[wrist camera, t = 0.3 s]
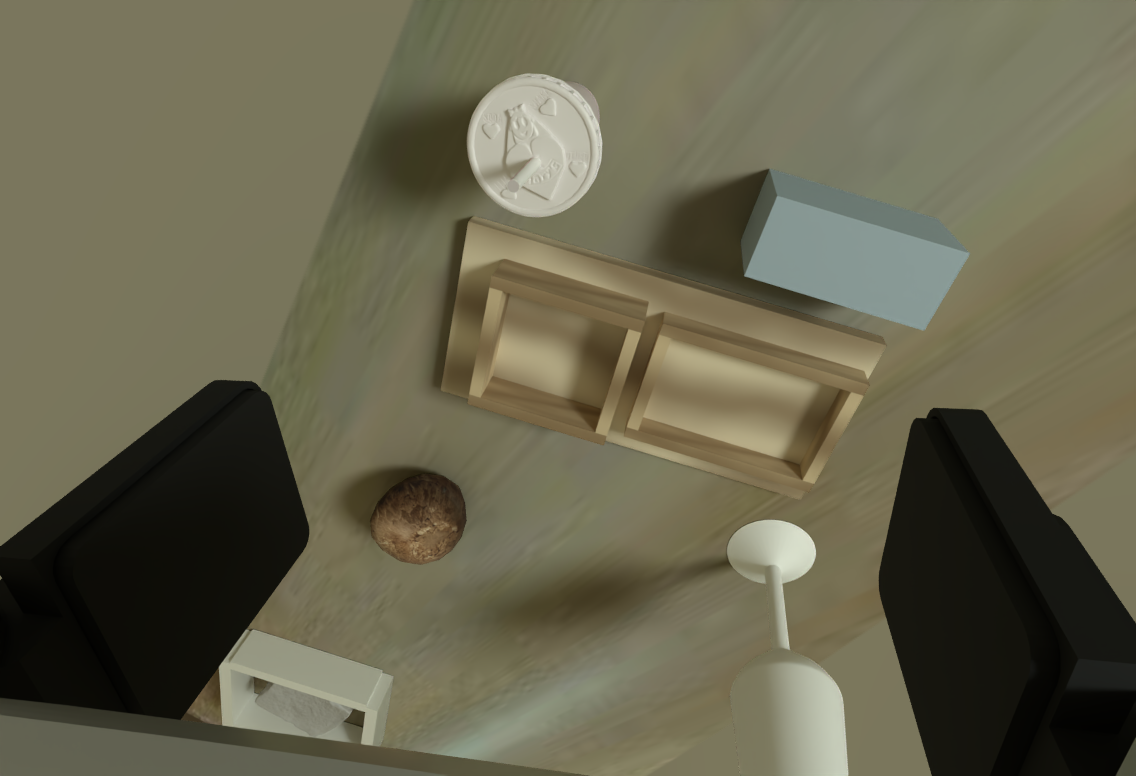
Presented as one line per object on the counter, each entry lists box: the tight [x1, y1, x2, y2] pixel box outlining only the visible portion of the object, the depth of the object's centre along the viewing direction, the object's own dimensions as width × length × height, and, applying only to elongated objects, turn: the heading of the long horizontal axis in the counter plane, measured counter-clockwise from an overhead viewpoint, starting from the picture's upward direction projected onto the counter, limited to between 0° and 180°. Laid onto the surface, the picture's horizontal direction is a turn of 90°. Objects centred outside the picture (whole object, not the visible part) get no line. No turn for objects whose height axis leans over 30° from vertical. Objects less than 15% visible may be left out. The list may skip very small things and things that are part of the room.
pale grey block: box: [741, 169, 970, 330], centre depth 39 cm, size 4×10×6 cm, turn 76°
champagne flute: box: [727, 520, 848, 776], centre depth 44 cm, size 7×7×24 cm
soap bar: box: [255, 682, 354, 737], centre depth 73 cm, size 10×6×6 cm, turn 43°
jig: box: [441, 216, 887, 500], centre depth 46 cm, size 13×27×4 cm, turn 76°
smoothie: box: [467, 73, 602, 217], centre depth 34 cm, size 6×6×14 cm
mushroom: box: [370, 473, 467, 565], centre depth 56 cm, size 8×8×6 cm
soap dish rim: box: [219, 629, 394, 747], centre depth 73 cm, size 12×16×4 cm
